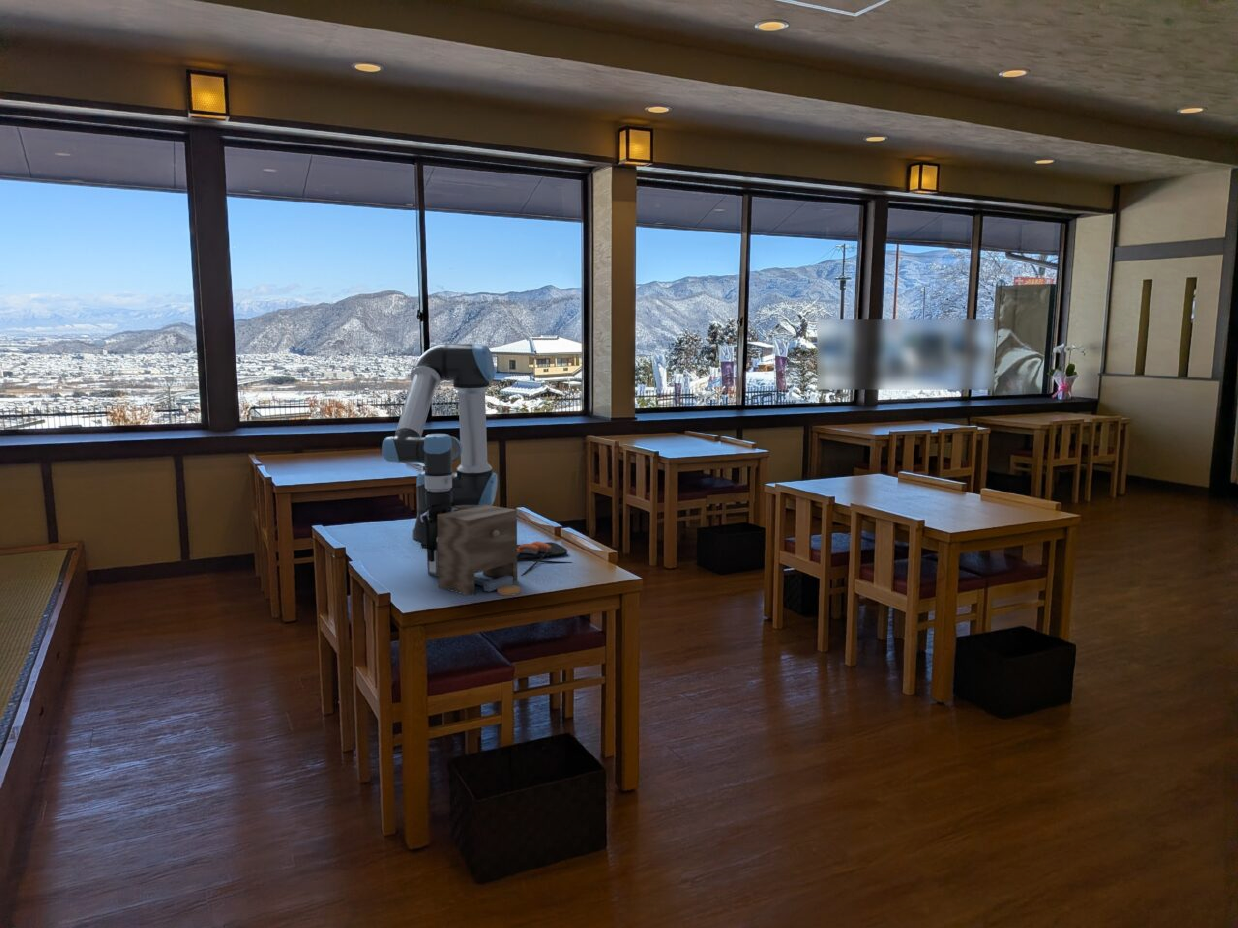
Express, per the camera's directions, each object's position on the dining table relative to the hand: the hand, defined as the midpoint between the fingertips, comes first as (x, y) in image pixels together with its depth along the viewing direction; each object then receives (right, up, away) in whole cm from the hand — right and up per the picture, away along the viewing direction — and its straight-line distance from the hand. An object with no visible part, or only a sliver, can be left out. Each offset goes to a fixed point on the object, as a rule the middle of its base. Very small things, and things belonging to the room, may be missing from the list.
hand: (440, 570), depth 243 cm
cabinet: (+12, -3, -9) cm, 15 cm away
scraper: (+9, -2, -6) cm, 11 cm away
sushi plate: (+23, 0, +16) cm, 28 cm away
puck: (+22, -4, -16) cm, 27 cm away
